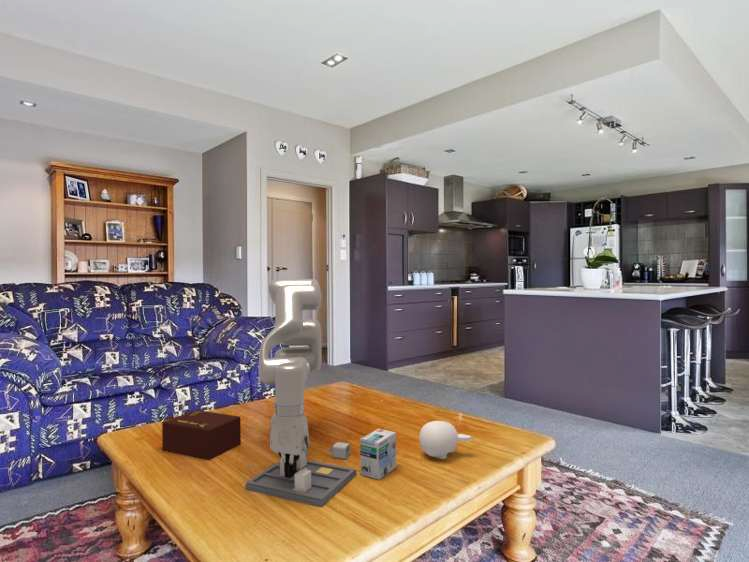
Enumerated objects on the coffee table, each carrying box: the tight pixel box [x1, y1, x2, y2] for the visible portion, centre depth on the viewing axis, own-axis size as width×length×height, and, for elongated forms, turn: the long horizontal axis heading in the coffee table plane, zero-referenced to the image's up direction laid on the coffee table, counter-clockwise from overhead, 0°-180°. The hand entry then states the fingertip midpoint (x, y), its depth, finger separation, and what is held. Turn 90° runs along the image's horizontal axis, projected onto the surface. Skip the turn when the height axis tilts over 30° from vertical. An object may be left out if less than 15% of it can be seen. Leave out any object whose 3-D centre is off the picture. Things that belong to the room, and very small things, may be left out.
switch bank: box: [244, 459, 357, 508], centre depth 127 cm, size 24×20×2 cm
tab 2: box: [297, 456, 308, 469], centre depth 134 cm, size 3×3×5 cm
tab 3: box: [295, 468, 311, 493], centre depth 120 cm, size 3×3×5 cm
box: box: [161, 409, 242, 461], centre depth 154 cm, size 21×16×10 cm
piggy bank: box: [418, 420, 472, 460], centre depth 145 cm, size 12×12×15 cm
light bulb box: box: [359, 428, 397, 481], centre depth 134 cm, size 11×7×11 cm, turn 148°
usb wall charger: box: [326, 442, 351, 460], centre depth 145 cm, size 4×7×4 cm, turn 70°
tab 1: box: [279, 458, 285, 476], centre depth 129 cm, size 3×3×5 cm
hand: (290, 475), depth 122 cm, fingers closed
